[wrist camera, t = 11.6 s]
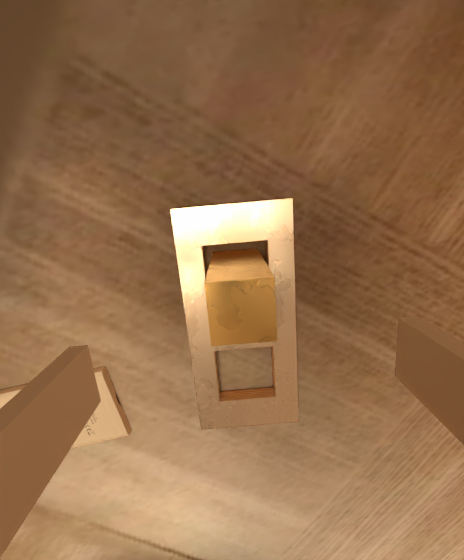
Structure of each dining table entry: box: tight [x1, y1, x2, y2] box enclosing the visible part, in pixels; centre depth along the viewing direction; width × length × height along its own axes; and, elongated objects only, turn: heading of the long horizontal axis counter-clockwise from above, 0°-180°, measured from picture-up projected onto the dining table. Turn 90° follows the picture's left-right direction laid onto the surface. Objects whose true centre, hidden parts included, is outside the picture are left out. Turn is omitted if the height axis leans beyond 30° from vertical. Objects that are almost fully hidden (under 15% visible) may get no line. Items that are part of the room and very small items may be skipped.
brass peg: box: [204, 249, 277, 346], centre depth 21 cm, size 4×4×10 cm
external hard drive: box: [0, 367, 131, 448], centre depth 30 cm, size 2×8×12 cm
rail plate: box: [170, 198, 299, 430], centre depth 27 cm, size 22×10×2 cm, turn 5°
